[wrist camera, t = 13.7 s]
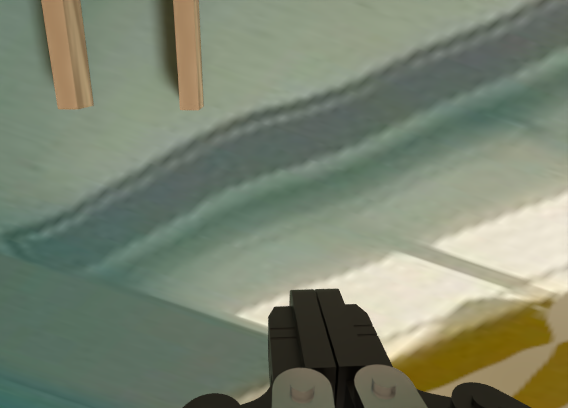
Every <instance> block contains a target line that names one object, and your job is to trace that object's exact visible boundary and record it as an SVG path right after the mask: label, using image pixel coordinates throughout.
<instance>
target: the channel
mask: <svg viewBox="0 0 568 408" xmlns="http://www.w3.org/2000/svg"><path fill="white" fill-rule="evenodd" d="M41 2H42V8H43V15H44V21H45V28H46V34H47V41H48V47H49V54H50V60H51V67H52V73H53V79H54V86H55V92H56V99H57V105H58V109H81V108H85V107H89V106H94V105H93V97H92V89H91V81H90V73H89V65H88V58H87V50H86V42H85V34H84V26H83V18H82V11H81V3H80V0H41ZM173 5H174V21H175V37H176V53H177V68H178V84H179V100H180V110H200V109H201V108H202V107H203V84H202V62H201V40H200V19H199V0H173Z"/></svg>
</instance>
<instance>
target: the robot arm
mask: <svg viewBox="0 0 568 408" xmlns="http://www.w3.org/2000/svg"><path fill="white" fill-rule="evenodd" d="M268 362H269V378H270V388H269V389H268V390H267V392H266V393H265V394H263V395H262V396H261V397H259V398H258V399H256V400H254V401H251V402H248V403H245V404H242V405H240V404H239V403H238V402H237V401H236V400H235V399H233V398H232V397H230V396H228V395H224V394H218V393H212V394H206V395H202V396H199V397H197V398H195V399H193V400H192V401H190V402H189V403H188V404H186V405H185V406H184V407H183V408H531V407H529V406H527V405H525V404H523V403H522V402H520V401H518V400H516V399H514V398H512V397H510V396H509V395H507V394H504V393H503V392H501V391H499V390H497V389H495V388H493V387H491V386H488V385H485V384H481V383H473V382H469V383H463V384H460V385H458V386H457V387H455V389H454V390H453V392H452V396H451V397H446V396H440V395H436V394H431V393H427V392H423V391H420V390H418V389H416V388H415V386H414V385H413V383H412V382H411V380H410V379H409V378H408V377H407V376H406V375H405V374H404V373H403V372H401V371H399V370H398V369H395V368H393V366H392V364H391V362H390V360H389V358H388V356H387V354H386V352H385V350H384V348H383V345H382V343H381V341H380V339H379V337H378V336H377V333H376V331H375V329H374V327H373V326H372V322H371V320H370V318H369V316H368V314H367V313H366V312H365V311H364V310H362V309H361V308H360V307H359V306H358V305H356V304H345V303H344V301H343V298H342V296H341V293H340V291H339V289H315V290H313V289H311V290H290V305H289V306H283V307H274V308H273V310H272V312H271V313H270V315H269V317H268Z"/></svg>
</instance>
